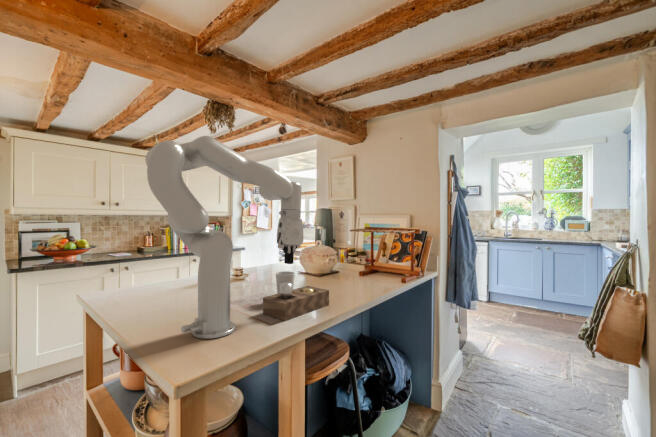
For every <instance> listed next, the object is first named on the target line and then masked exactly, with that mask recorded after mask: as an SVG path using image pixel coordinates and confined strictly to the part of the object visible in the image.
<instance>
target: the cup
mask: <svg viewBox="0 0 656 437" xmlns="http://www.w3.org/2000/svg"><path fill="white" fill-rule="evenodd" d="M295 276H296V275H295V272H294V271H288V270H287V271H278V272H275V279H276V280H275V281H276V294H278V293H280V283H284V282H290V283H292V290H294V283H295Z"/></svg>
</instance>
